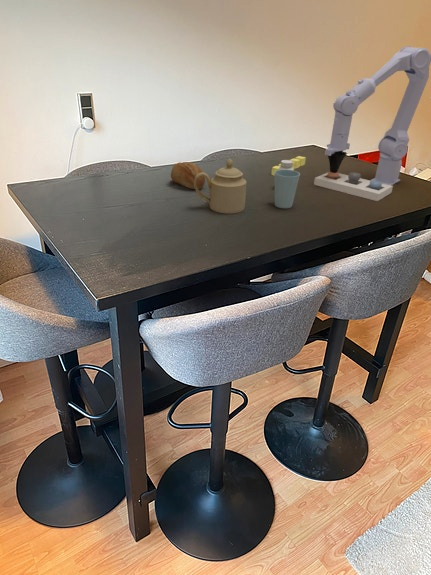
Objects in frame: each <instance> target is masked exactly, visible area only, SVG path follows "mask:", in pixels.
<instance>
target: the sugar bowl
mask: <svg viewBox="0 0 431 575" xmlns="http://www.w3.org/2000/svg"><path fill="white" fill-rule="evenodd" d="M233 163H234V162H233V160H232V159H231V158H228V159H227V160H226V163H225V164H226V166H224V167H221V168H219V169H218V170H216V171H215V176H214V177H212V178H210V175H208V173H206V172H205V171H202V172H201V173H199V174H197V175H196V177H195V179H194V186H195V189H194V190H195V191H196V193H197V194H198V196H200V197H201V198H202V199H203V200H205V201H206V202H207V203H208V204H209V208H210V209H211V210H212V211H213V212H216V213H219V214H227V215H228V214H231V215H233V214H238V213H241V212H244V210H245V208H246V207H245V206H246V197H247V183H248V182H247V179H245V178H243V175H244V174H243V172H242V171H241V170H240V169H239V168H235V167H234V166H233ZM232 166H233V167H232ZM201 176H205V179H206V180H207V185H208V188H209V197H207V195H205V194H203V193H202V191H201V190H200V189H198V186H197V181H198V178H199V177H201Z"/></svg>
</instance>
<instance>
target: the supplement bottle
mask: <svg viewBox="0 0 431 575" xmlns="http://www.w3.org/2000/svg"><path fill="white" fill-rule="evenodd" d="M290 160H291V159H283V160H281V161H280V164H281V167H279V169H278V170H293V171H295V168H294V169H293V168H292V165H293V161H290Z"/></svg>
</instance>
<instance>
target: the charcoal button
mask: <svg viewBox="0 0 431 575" xmlns="http://www.w3.org/2000/svg"><path fill="white" fill-rule="evenodd" d="M348 175H349V176H348V179H349V183H351V184H355V185H357V183H358V180H360V178H361V175H362V174H361V173H359V172H356V171H354V172H353V171H352V172H351V171H350V172H349V173H348Z"/></svg>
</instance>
